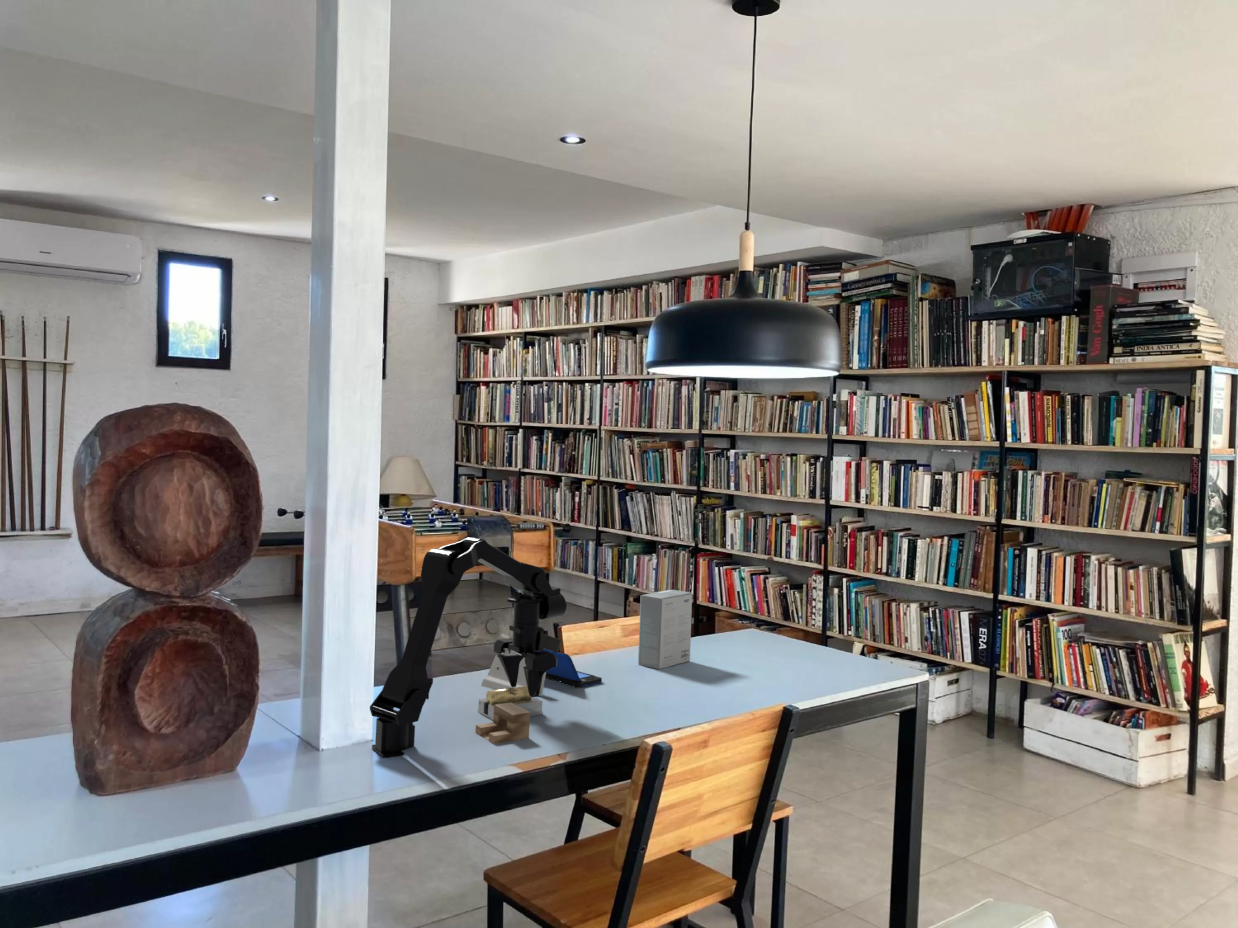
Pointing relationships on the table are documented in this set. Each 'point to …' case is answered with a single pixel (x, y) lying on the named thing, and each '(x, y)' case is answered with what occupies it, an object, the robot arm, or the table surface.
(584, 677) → the handheld game console
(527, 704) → the v block
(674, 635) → the hard drive box
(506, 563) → the robot arm
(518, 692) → the axle
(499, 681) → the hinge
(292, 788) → the table surface
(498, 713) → the brown notched block
